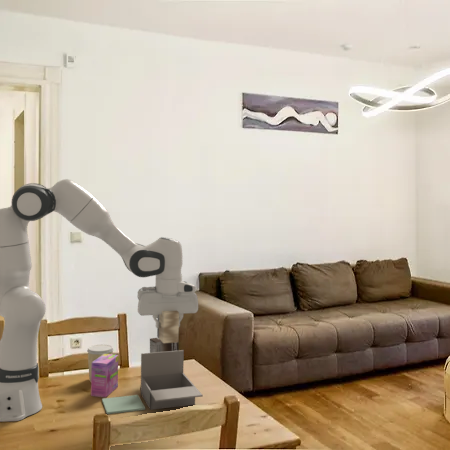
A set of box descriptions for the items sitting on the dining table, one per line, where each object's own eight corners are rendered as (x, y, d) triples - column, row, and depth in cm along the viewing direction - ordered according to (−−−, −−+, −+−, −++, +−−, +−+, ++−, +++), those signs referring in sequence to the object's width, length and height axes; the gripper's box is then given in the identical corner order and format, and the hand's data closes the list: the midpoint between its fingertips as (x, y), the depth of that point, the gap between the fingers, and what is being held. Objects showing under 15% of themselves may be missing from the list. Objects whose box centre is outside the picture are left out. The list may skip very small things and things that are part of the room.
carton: (155, 419, 166) (156, 374, 165) (140, 393, 188) (141, 353, 187) (202, 413, 171) (203, 369, 171) (182, 389, 193) (183, 350, 192)
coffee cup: (109, 384, 196) (110, 351, 196) (84, 383, 197) (84, 351, 196) (115, 375, 206) (115, 344, 205) (90, 375, 206) (91, 344, 205)
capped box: (163, 343, 177) (164, 312, 177) (157, 336, 185) (157, 307, 185) (178, 342, 179) (178, 312, 178) (171, 335, 187) (172, 306, 187)
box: (106, 397, 183) (106, 363, 183) (90, 396, 184) (90, 362, 184) (118, 387, 193) (118, 354, 193) (103, 386, 195) (103, 353, 194)
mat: (106, 414, 169) (107, 412, 169) (102, 400, 181) (102, 398, 181) (145, 409, 174) (145, 407, 174) (137, 396, 185) (137, 394, 185)
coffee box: (171, 377, 205) (172, 335, 204) (179, 382, 200) (179, 339, 199) (149, 381, 201) (149, 338, 200) (155, 386, 195) (156, 342, 194)
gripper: (139, 288, 175) (138, 331, 175) (200, 286, 182) (199, 327, 182) (135, 285, 181) (135, 326, 181) (194, 283, 188) (193, 323, 188)
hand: (167, 327), depth 182 cm, fingers closed on capped box, 5 cm apart
